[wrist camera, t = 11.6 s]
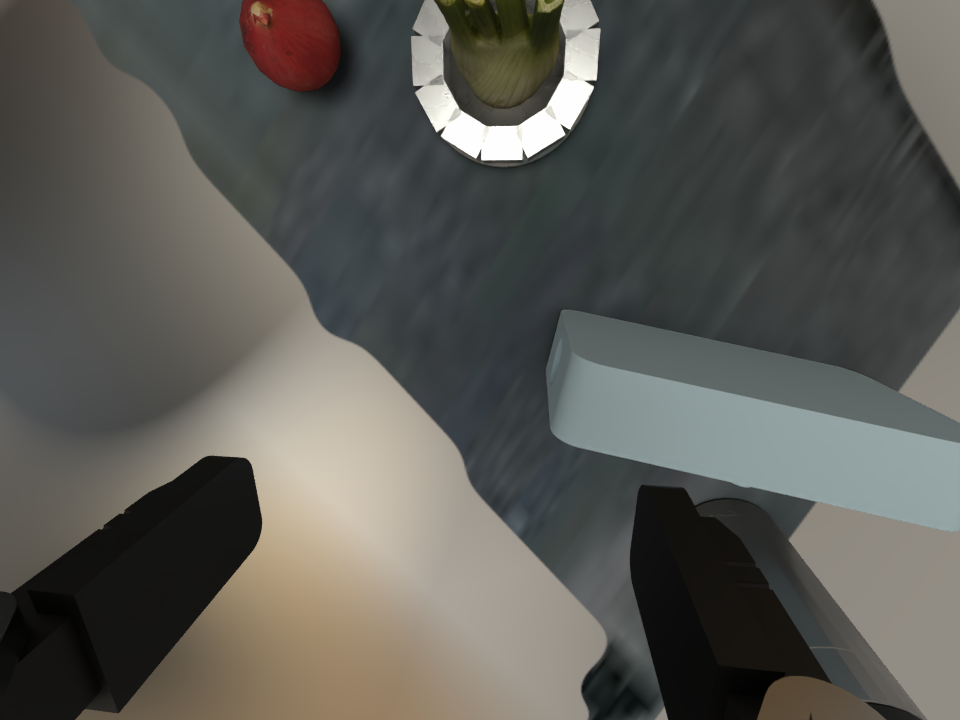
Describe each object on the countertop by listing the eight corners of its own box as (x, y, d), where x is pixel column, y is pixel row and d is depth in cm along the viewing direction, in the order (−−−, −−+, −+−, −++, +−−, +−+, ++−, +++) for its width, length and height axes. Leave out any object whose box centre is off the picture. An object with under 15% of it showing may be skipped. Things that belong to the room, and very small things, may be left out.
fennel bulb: (562, 64, 29) (581, -27, 18) (520, 133, 31) (513, 90, 20) (490, 10, 29) (463, -117, 18) (451, 84, 31) (403, 10, 19)
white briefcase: (542, 372, 38) (547, 454, 25) (559, 306, 36) (574, 359, 23) (819, 433, 37) (968, 550, 24) (852, 369, 35) (1033, 459, 22)
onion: (288, 106, 33) (216, 75, 26) (273, 14, 31) (190, -48, 24) (363, 99, 32) (311, 64, 25) (351, 4, 31) (292, -63, 23)
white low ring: (624, 107, 31) (634, 94, 27) (475, 199, 34) (469, 198, 30) (543, -77, 28) (545, -115, 25) (390, 42, 31) (373, 22, 28)
